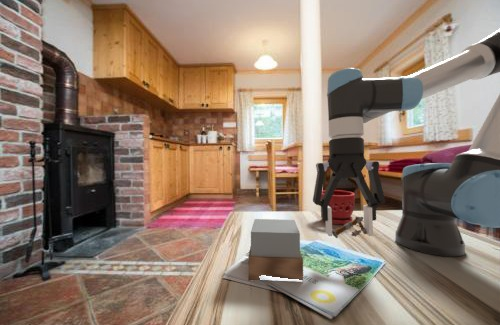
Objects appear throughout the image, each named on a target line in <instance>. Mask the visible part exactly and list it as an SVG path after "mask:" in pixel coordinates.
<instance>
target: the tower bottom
mask: <svg viewBox="0 0 500 325" xmlns="http://www.w3.org/2000/svg"><path fill="white" fill-rule="evenodd" d="M249 248H250V249H249V252H248V258H247V259H248V260H247V262H248V267H247V268H248V270H247V271H248V272H247V273H248V276H247V277H248V281H251V280H260V278H259V276H261V275H266V276H272V277H280V278H288V279H299V280H303V281H304V258H303V254H302V253H301V251H300V258H290V257H265V256H251V246H249Z"/></svg>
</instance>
